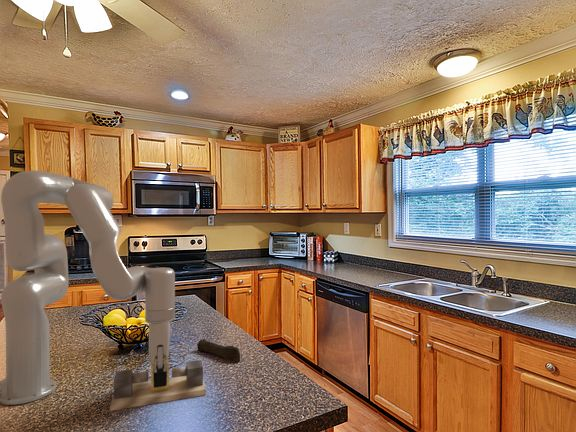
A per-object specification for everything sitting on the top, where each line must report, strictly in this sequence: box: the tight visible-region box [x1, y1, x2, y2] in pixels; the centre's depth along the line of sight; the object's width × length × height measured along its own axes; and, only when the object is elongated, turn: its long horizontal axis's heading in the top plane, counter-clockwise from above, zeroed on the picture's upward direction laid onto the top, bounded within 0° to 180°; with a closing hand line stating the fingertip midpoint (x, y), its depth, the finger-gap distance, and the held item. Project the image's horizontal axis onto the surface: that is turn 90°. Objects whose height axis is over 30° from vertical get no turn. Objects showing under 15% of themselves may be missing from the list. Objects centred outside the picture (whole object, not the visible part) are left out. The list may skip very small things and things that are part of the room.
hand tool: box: [196, 339, 241, 363], centre depth 120 cm, size 19×4×5 cm, turn 52°
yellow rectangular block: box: [150, 357, 170, 393], centre depth 95 cm, size 4×4×7 cm
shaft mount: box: [109, 359, 207, 412], centre depth 95 cm, size 23×10×6 cm, turn 110°
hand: (160, 379), depth 95 cm, fingers open, 7 cm apart
